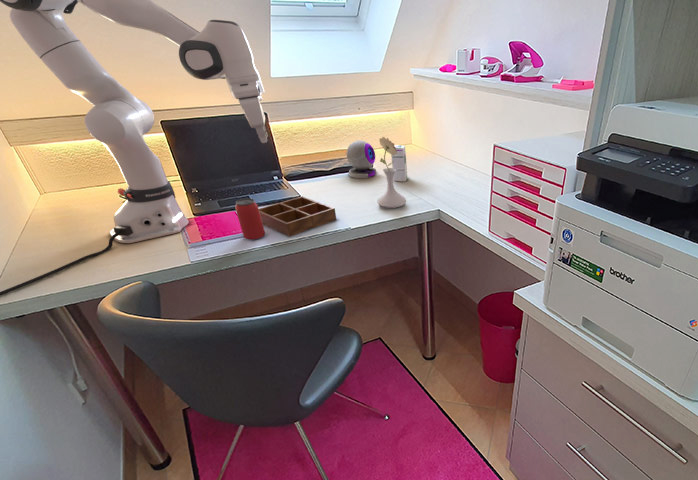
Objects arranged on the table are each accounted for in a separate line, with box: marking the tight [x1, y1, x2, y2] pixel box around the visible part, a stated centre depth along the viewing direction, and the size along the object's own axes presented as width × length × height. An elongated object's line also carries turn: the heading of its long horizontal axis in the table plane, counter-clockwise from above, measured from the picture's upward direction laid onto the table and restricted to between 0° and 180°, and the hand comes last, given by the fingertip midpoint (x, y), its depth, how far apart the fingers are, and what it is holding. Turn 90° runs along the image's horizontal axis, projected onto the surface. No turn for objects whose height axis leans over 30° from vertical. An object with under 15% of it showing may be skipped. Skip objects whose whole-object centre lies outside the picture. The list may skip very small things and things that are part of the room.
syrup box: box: [390, 144, 408, 182], centre depth 191 cm, size 6×6×14 cm
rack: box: [259, 195, 337, 238], centre depth 151 cm, size 19×19×4 cm
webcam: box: [346, 139, 377, 179], centre depth 196 cm, size 13×13×15 cm
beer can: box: [235, 198, 266, 241], centre depth 137 cm, size 7×7×12 cm
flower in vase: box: [377, 136, 407, 209], centre depth 161 cm, size 13×11×25 cm
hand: (265, 140), depth 127 cm, fingers open, 8 cm apart
